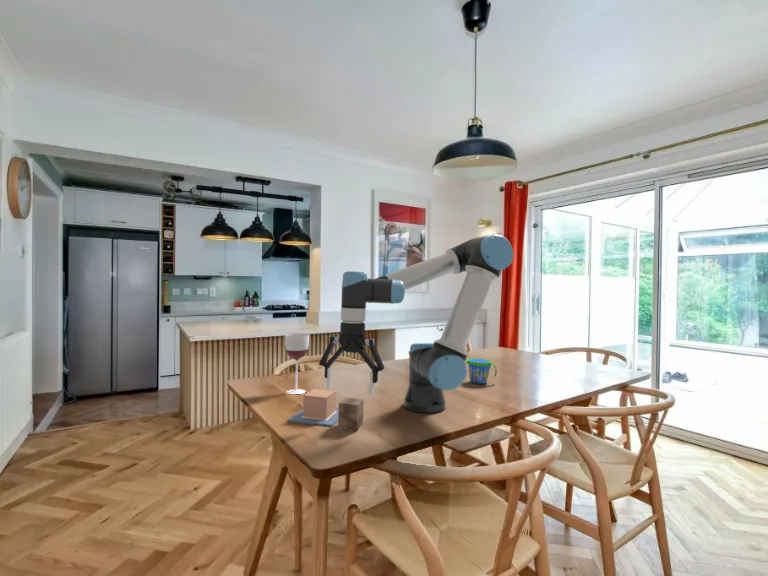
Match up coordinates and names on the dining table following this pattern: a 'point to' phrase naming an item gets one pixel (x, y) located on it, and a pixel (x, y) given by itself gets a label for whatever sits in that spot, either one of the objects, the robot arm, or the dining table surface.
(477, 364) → the snack cup
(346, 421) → the walnut column
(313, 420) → the board
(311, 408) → the terracotta base
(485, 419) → the dining table surface
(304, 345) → the wineglass
